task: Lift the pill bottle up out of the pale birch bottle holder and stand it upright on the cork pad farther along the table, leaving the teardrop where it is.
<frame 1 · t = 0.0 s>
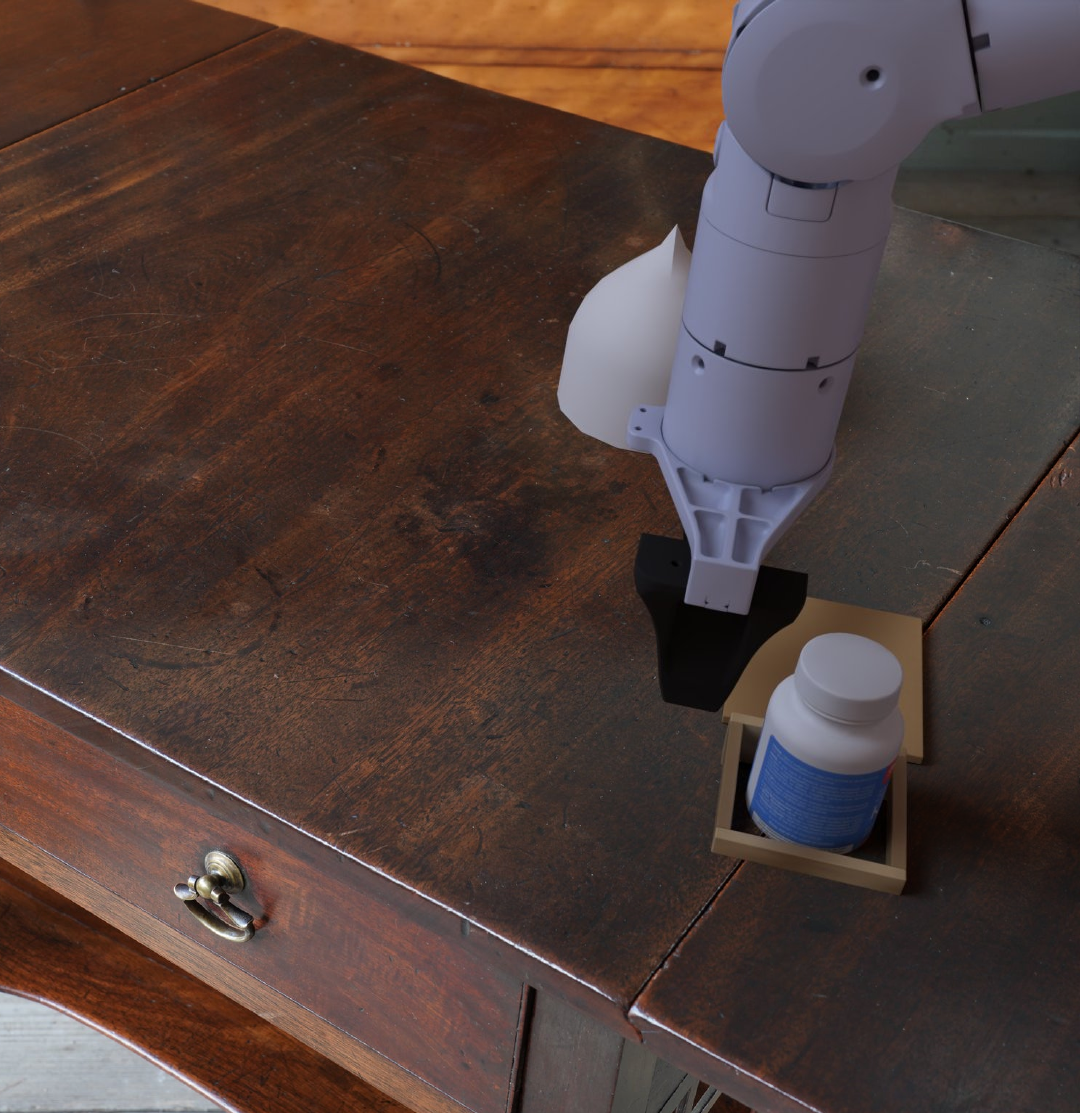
hand: (701, 633, 56), 12 cm above the table, tool pointing down, fingers open, 7 cm apart
teardrop: (646, 405, 90), on the table
pill bottle: (801, 832, 64), resting in holder
holder: (801, 829, 64), on the table
pad: (824, 672, 72), on the table
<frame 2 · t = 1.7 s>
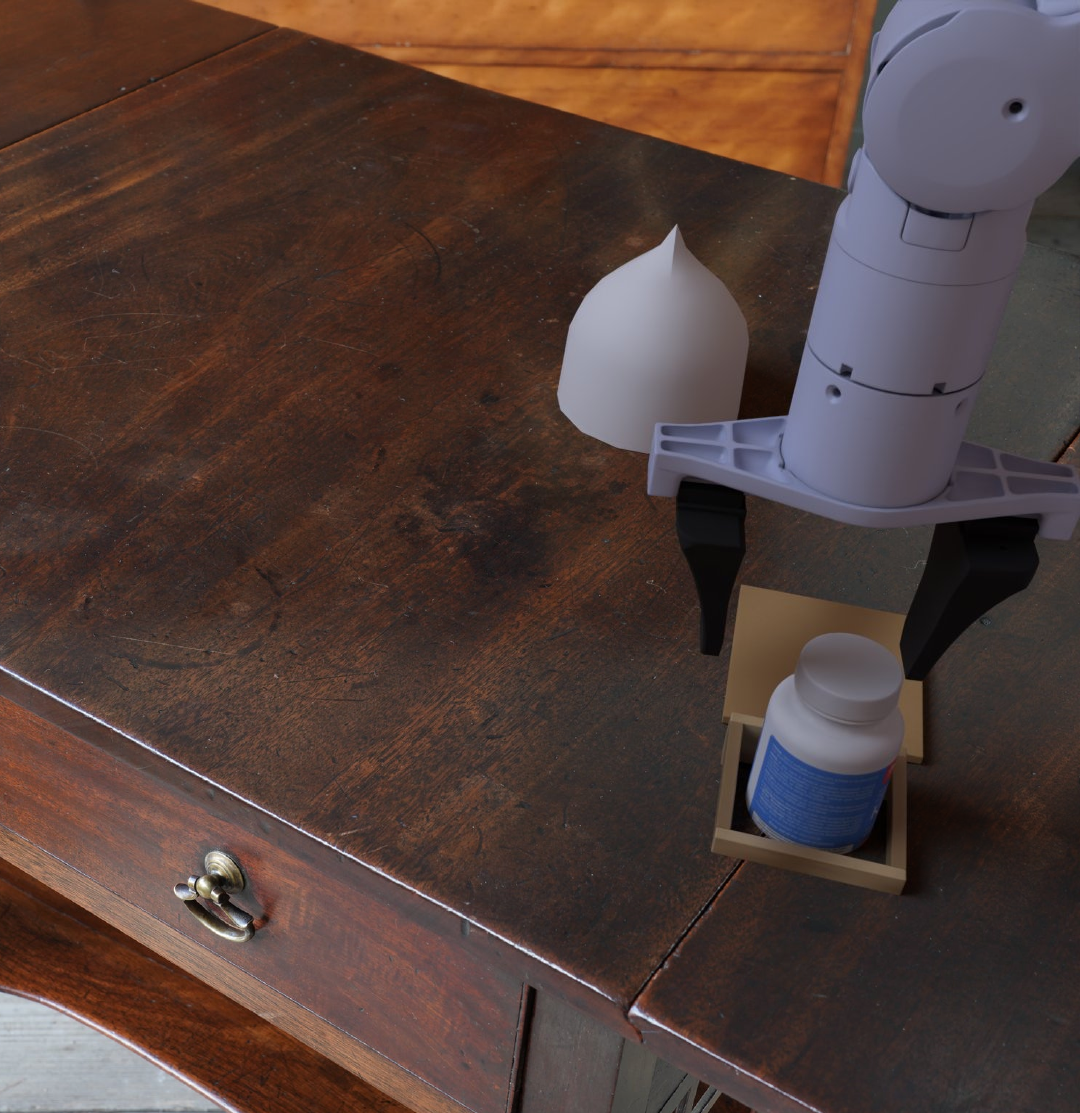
hand: (809, 650, 57), 11 cm above the table, tool pointing down, fingers open, 7 cm apart
nothing on the table moved.
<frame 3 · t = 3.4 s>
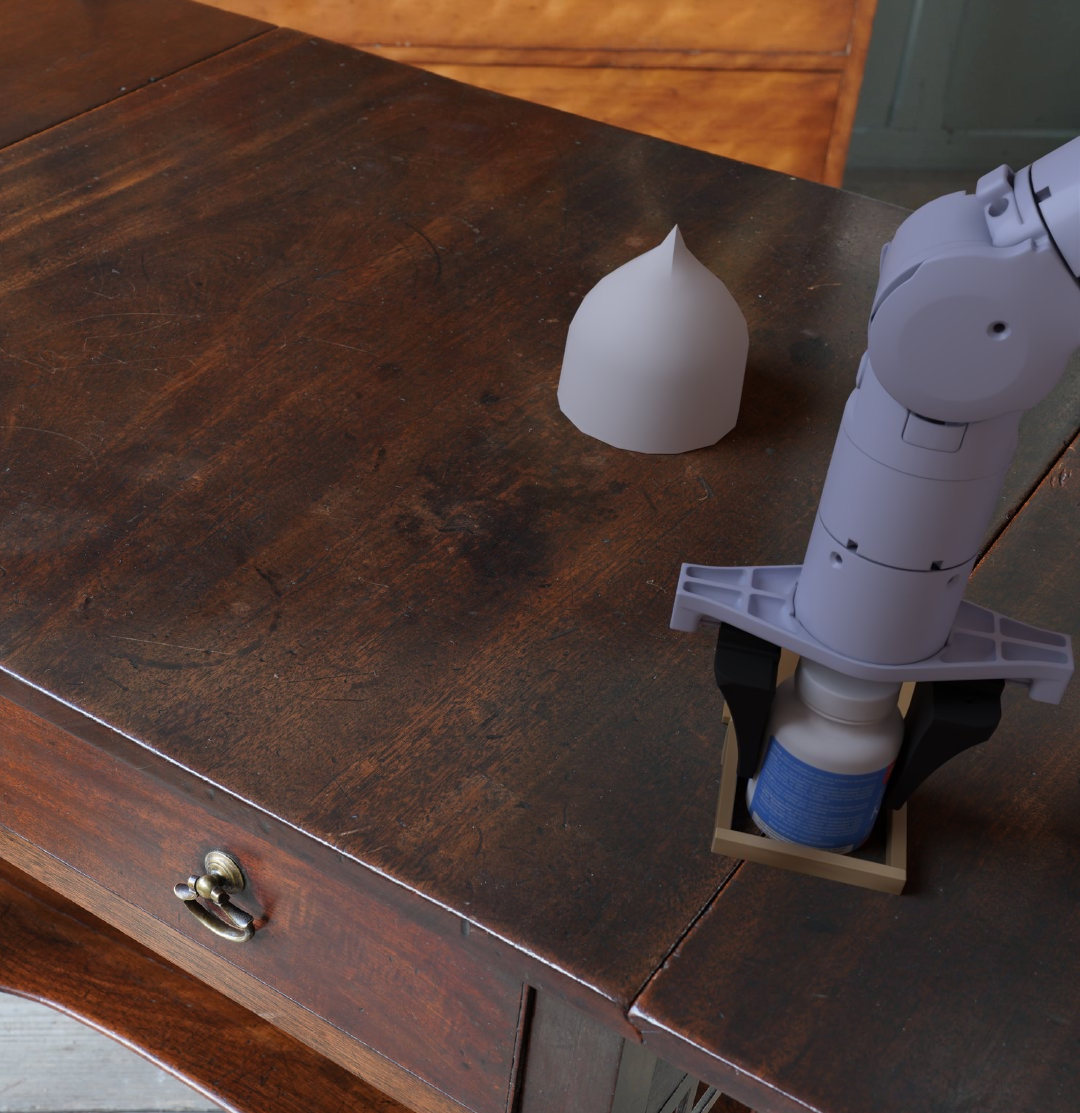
hand: (819, 776, 62), 3 cm above the table, tool pointing down, fingers closed on pill bottle, 5 cm apart
pill bottle: (801, 832, 64), resting in holder, touching gripper
everything else where it was.
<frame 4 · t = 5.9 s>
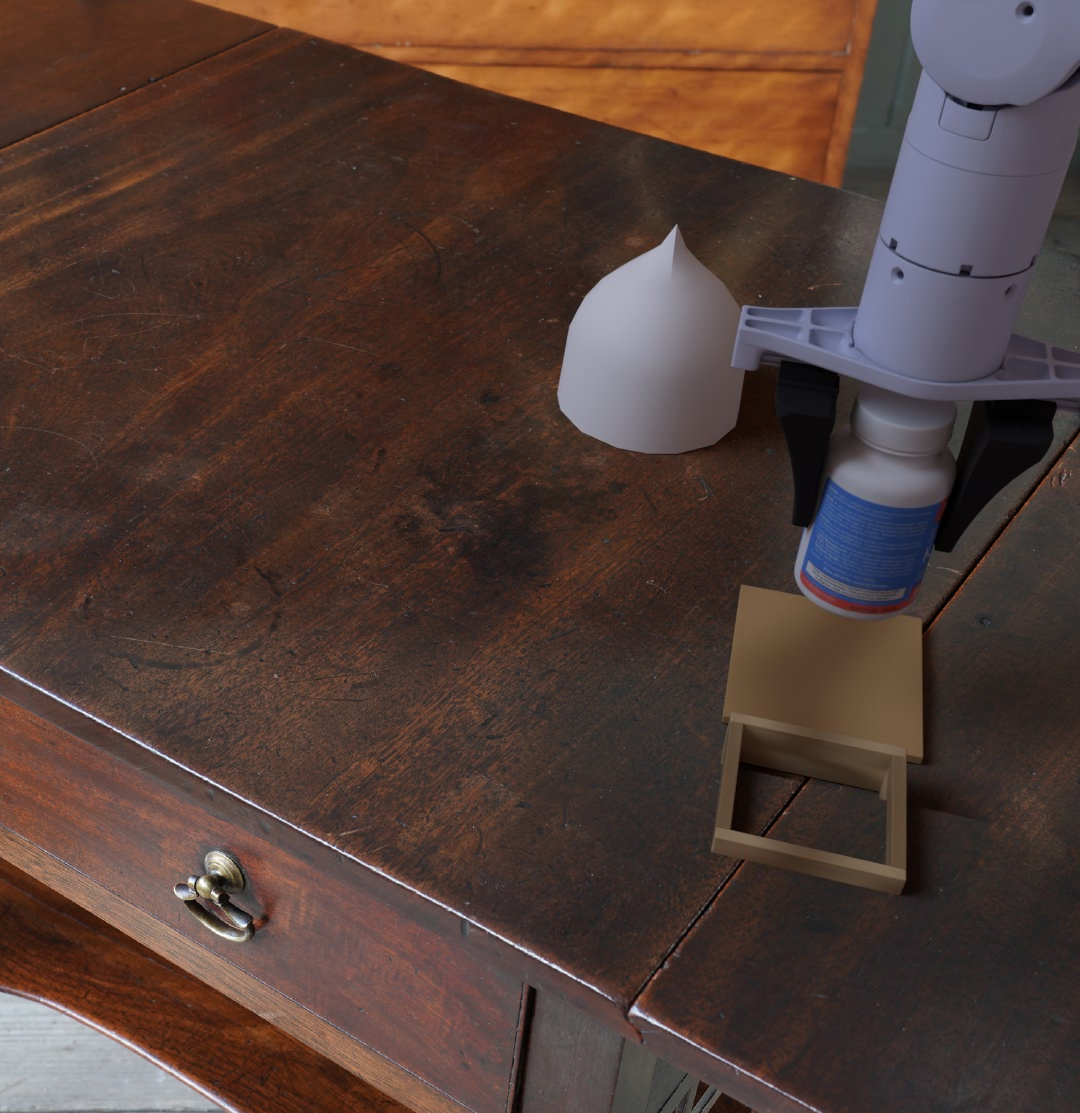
hand: (872, 526, 64), 10 cm above the table, tool pointing down, fingers closed on pill bottle, 5 cm apart
pill bottle: (852, 588, 66), point 7 cm above the table, touching gripper
everything else where it was.
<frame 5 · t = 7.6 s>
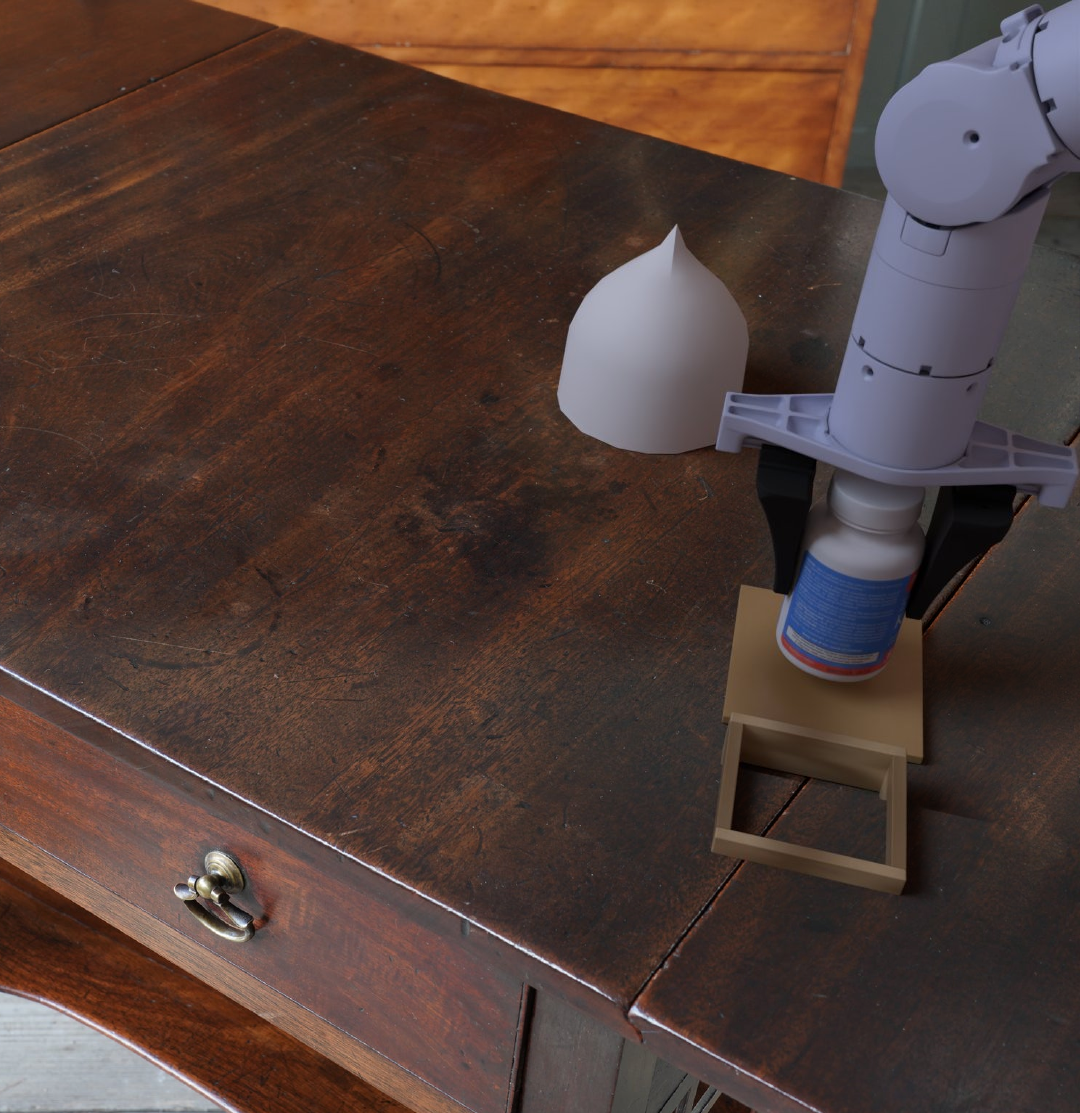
hand: (847, 593, 68), 5 cm above the table, tool pointing down, fingers closed on pill bottle, 5 cm apart
pill bottle: (830, 649, 71), point 1 cm above the table, touching gripper
everything else where it was.
when the fingers open (4 cm above the table, at t = 8.5 s): pill bottle stays where it is, resting on pad.
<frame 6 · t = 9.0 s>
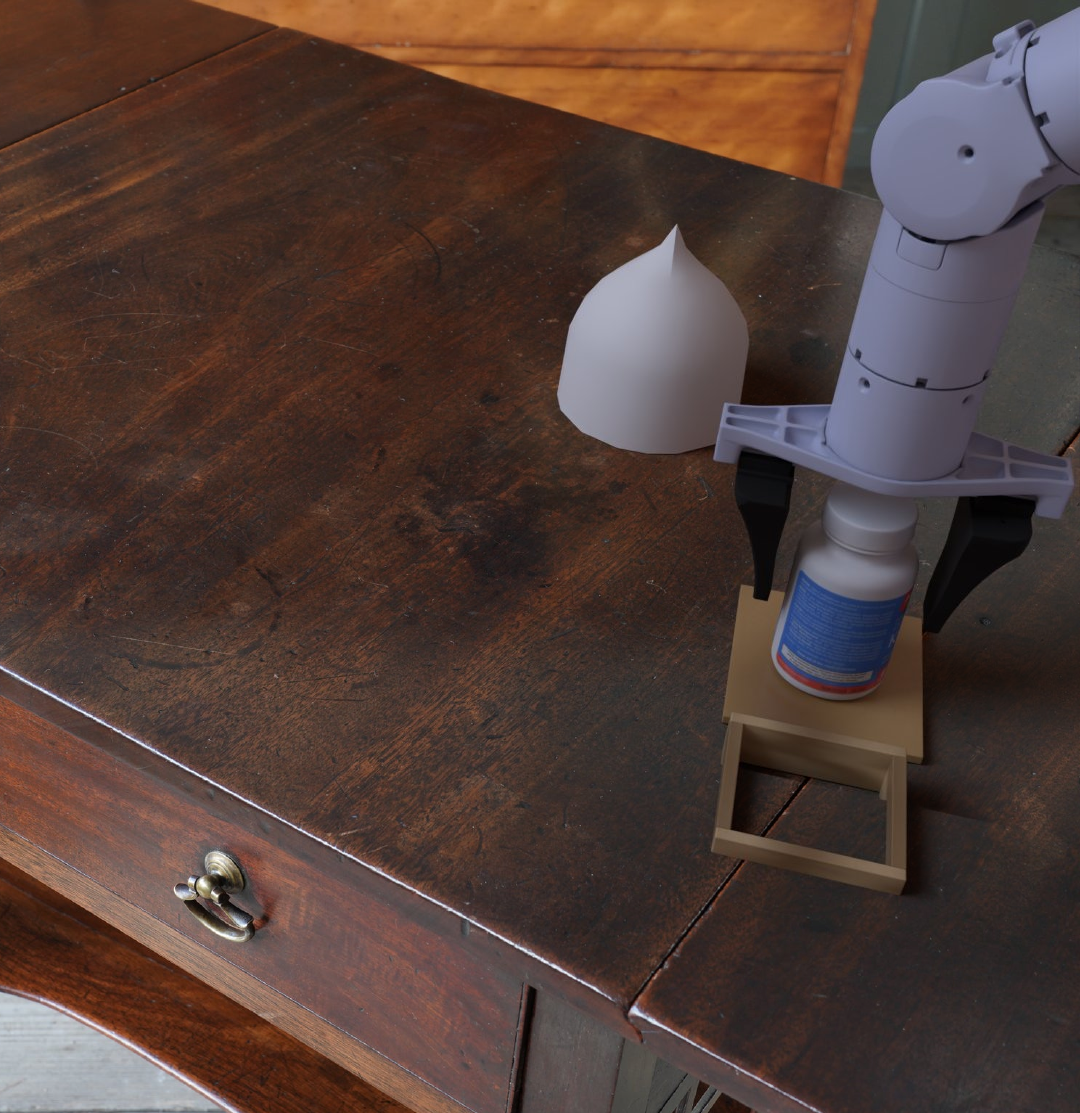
hand: (845, 602, 69), 5 cm above the table, tool pointing down, fingers open, 7 cm apart
pill bottle: (824, 667, 71), resting on pad
everything else where it was.
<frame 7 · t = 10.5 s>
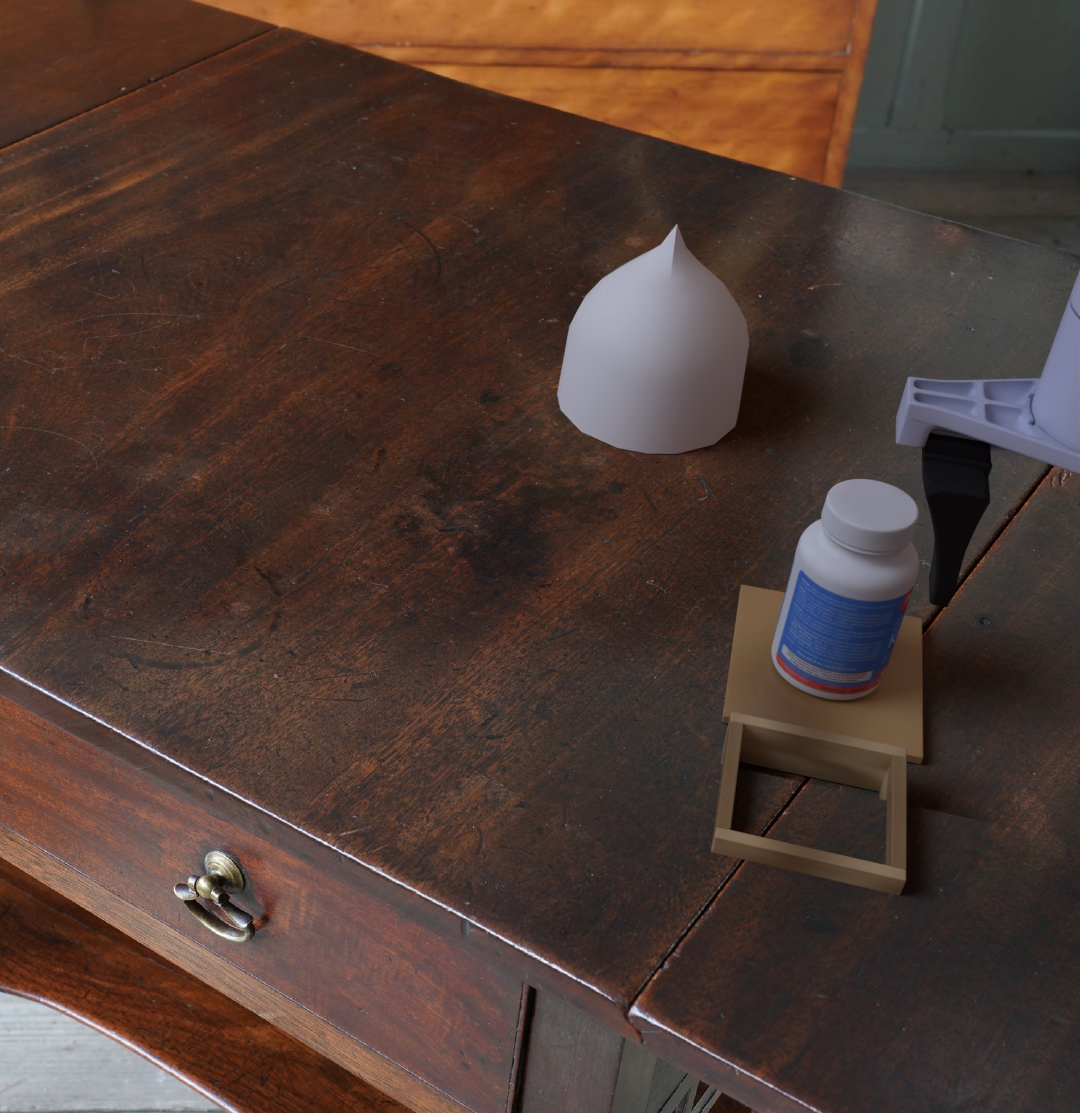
hand: (1036, 609, 60), 10 cm above the table, tool pointing down, fingers open, 7 cm apart
nothing on the table moved.
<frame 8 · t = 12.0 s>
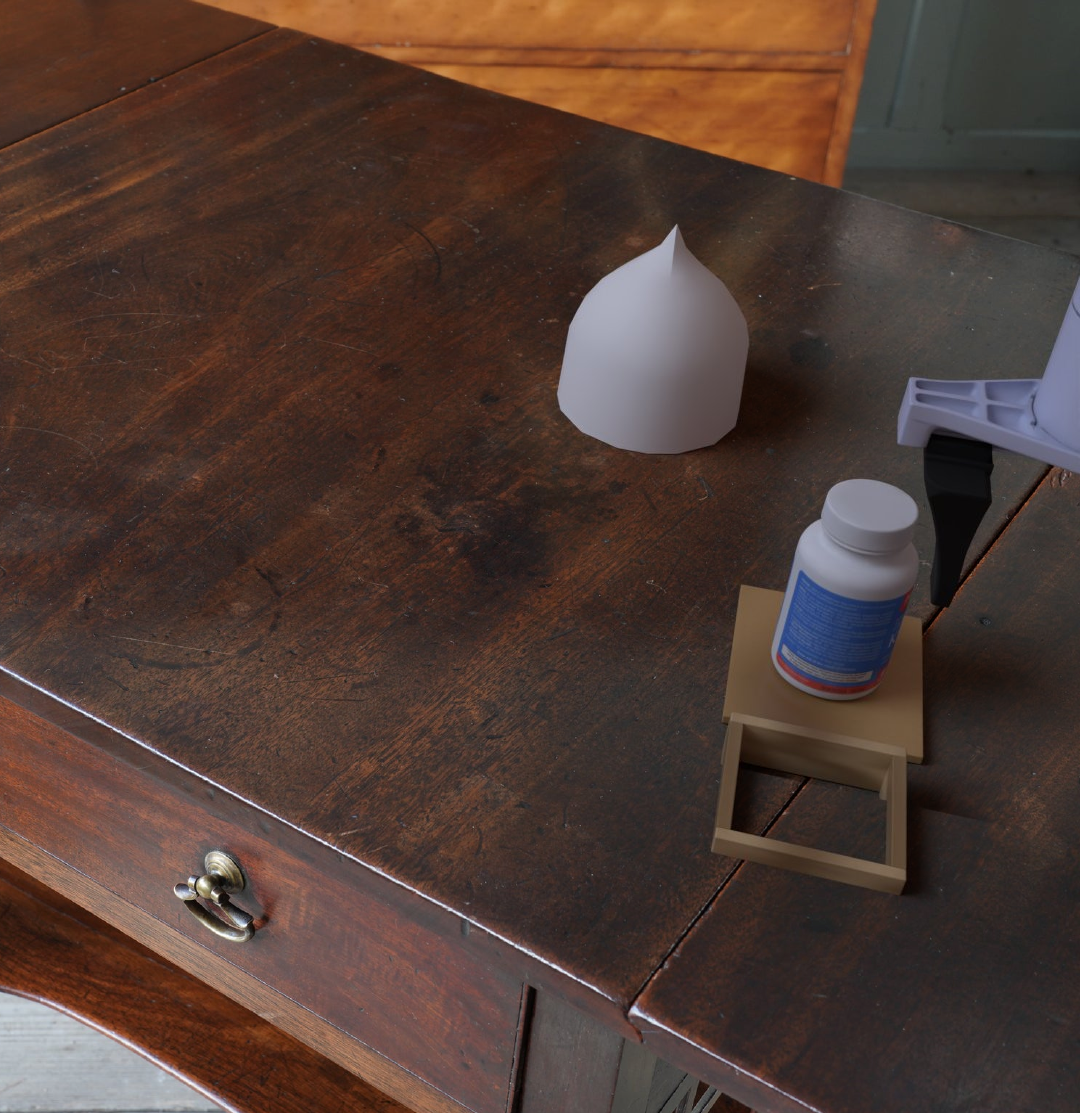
hand: (1038, 609, 60), 10 cm above the table, tool pointing down, fingers open, 7 cm apart
nothing on the table moved.
at the end: pill bottle inside the target area on the pad (0.0 cm from its centre), point 0.3 cm above the pad's base; pill bottle tilted 0°; teardrop moved 0.2 cm from its start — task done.
